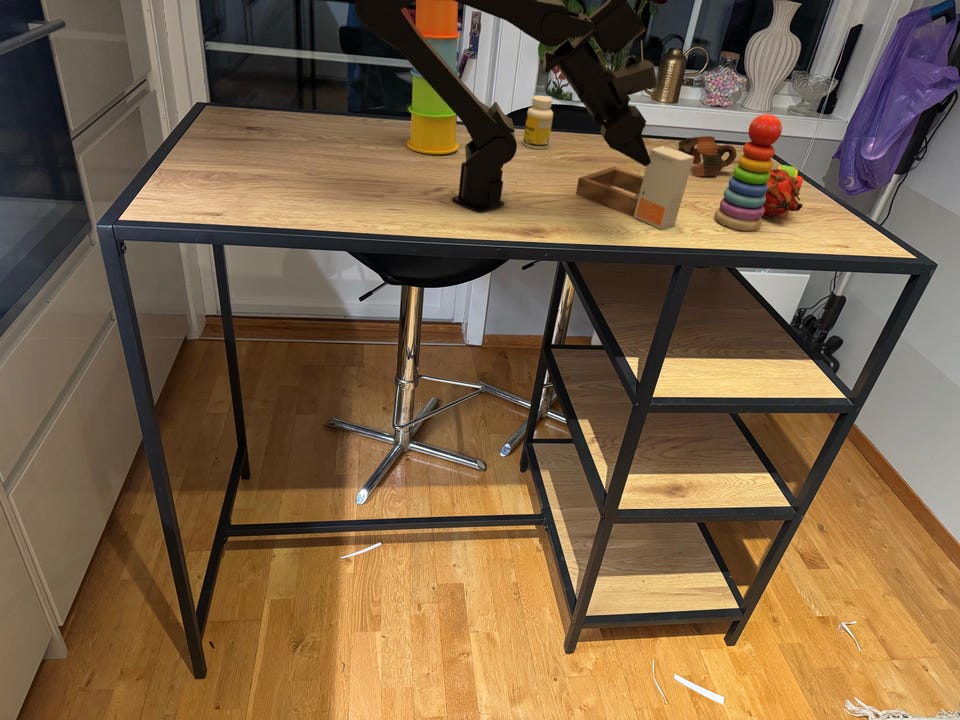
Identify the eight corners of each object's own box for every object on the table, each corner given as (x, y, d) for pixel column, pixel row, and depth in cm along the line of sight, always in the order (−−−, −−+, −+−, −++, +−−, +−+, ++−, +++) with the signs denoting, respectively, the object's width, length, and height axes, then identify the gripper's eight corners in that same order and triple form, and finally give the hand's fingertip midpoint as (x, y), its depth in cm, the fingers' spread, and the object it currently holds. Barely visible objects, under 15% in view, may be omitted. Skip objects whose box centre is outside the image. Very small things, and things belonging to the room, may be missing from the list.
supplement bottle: (519, 141, 151) (525, 94, 146) (542, 142, 153) (549, 95, 148) (527, 149, 147) (535, 101, 142) (551, 150, 149) (559, 102, 143)
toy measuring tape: (758, 205, 134) (770, 171, 131) (763, 177, 150) (774, 146, 146) (793, 213, 133) (806, 179, 129) (794, 184, 148) (806, 153, 145)
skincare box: (632, 217, 121) (649, 148, 114) (646, 213, 124) (664, 145, 117) (661, 230, 117) (681, 159, 111) (675, 225, 120) (695, 156, 114)
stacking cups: (424, 158, 135) (439, -51, 116) (397, 142, 141) (406, -58, 122) (468, 153, 140) (489, -47, 121) (439, 137, 147) (455, -54, 128)
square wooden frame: (575, 194, 128) (578, 178, 126) (631, 174, 141) (635, 159, 139) (632, 216, 122) (636, 199, 120) (685, 193, 135) (689, 178, 133)
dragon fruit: (760, 207, 137) (773, 241, 128) (734, 179, 134) (746, 213, 125) (800, 178, 132) (817, 212, 124) (774, 149, 129) (789, 181, 120)
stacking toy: (724, 211, 129) (757, 105, 119) (766, 225, 125) (804, 117, 115) (706, 221, 124) (739, 111, 113) (749, 236, 120) (788, 124, 110)
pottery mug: (680, 178, 144) (677, 137, 144) (674, 185, 154) (671, 146, 153) (741, 171, 142) (739, 130, 142) (732, 179, 152) (729, 139, 151)
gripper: (646, 51, 97) (702, 140, 104) (621, 29, 113) (671, 108, 120) (579, 104, 101) (637, 186, 108) (564, 76, 116) (615, 149, 123)
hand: (642, 155), depth 114 cm, fingers open, 9 cm apart
